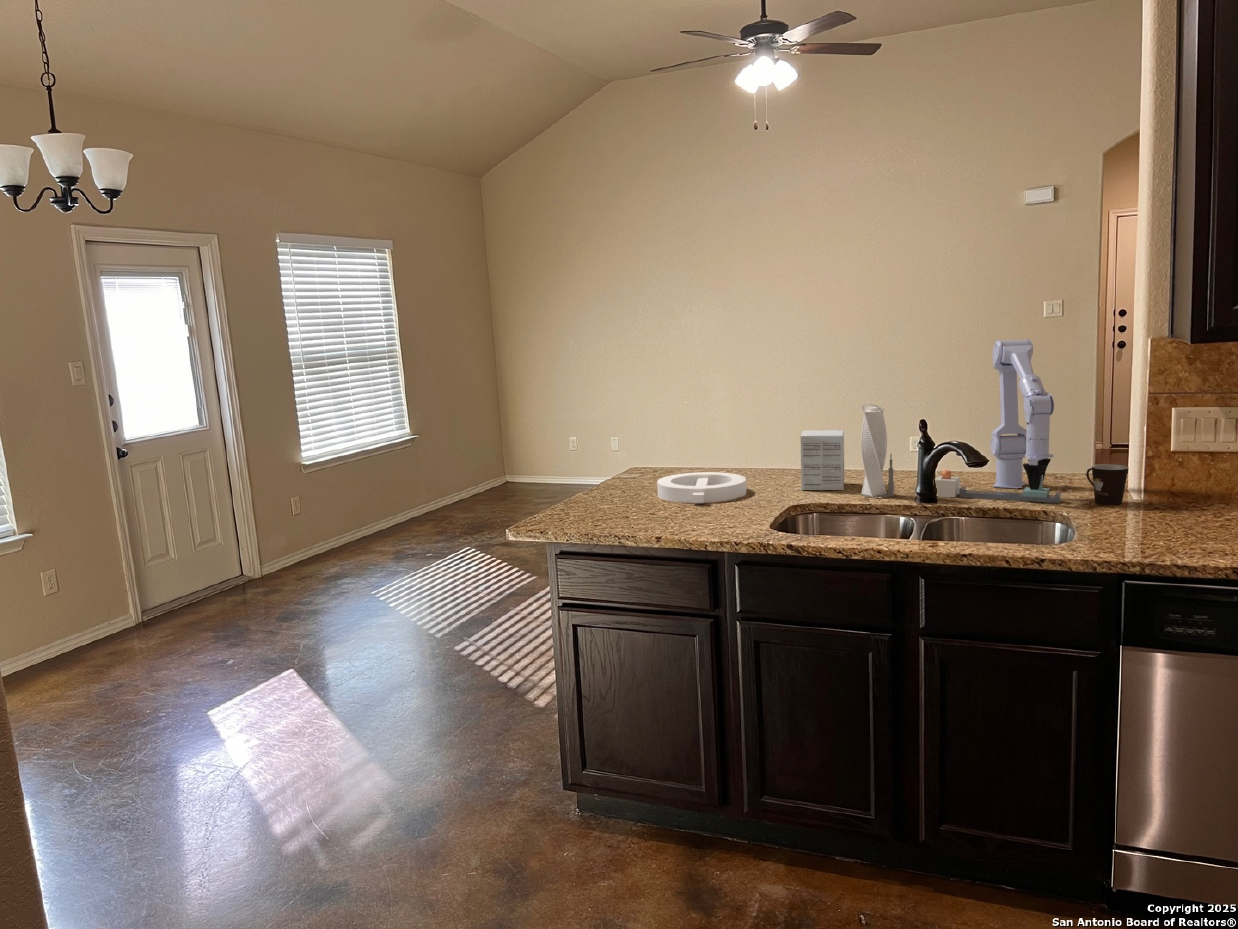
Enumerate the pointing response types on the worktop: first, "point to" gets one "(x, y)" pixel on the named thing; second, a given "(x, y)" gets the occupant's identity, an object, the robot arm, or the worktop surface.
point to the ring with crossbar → (701, 487)
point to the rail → (1007, 496)
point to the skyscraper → (875, 453)
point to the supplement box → (822, 460)
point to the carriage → (1037, 491)
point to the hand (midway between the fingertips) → (1036, 486)
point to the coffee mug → (1108, 483)
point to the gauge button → (946, 474)
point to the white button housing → (947, 486)
